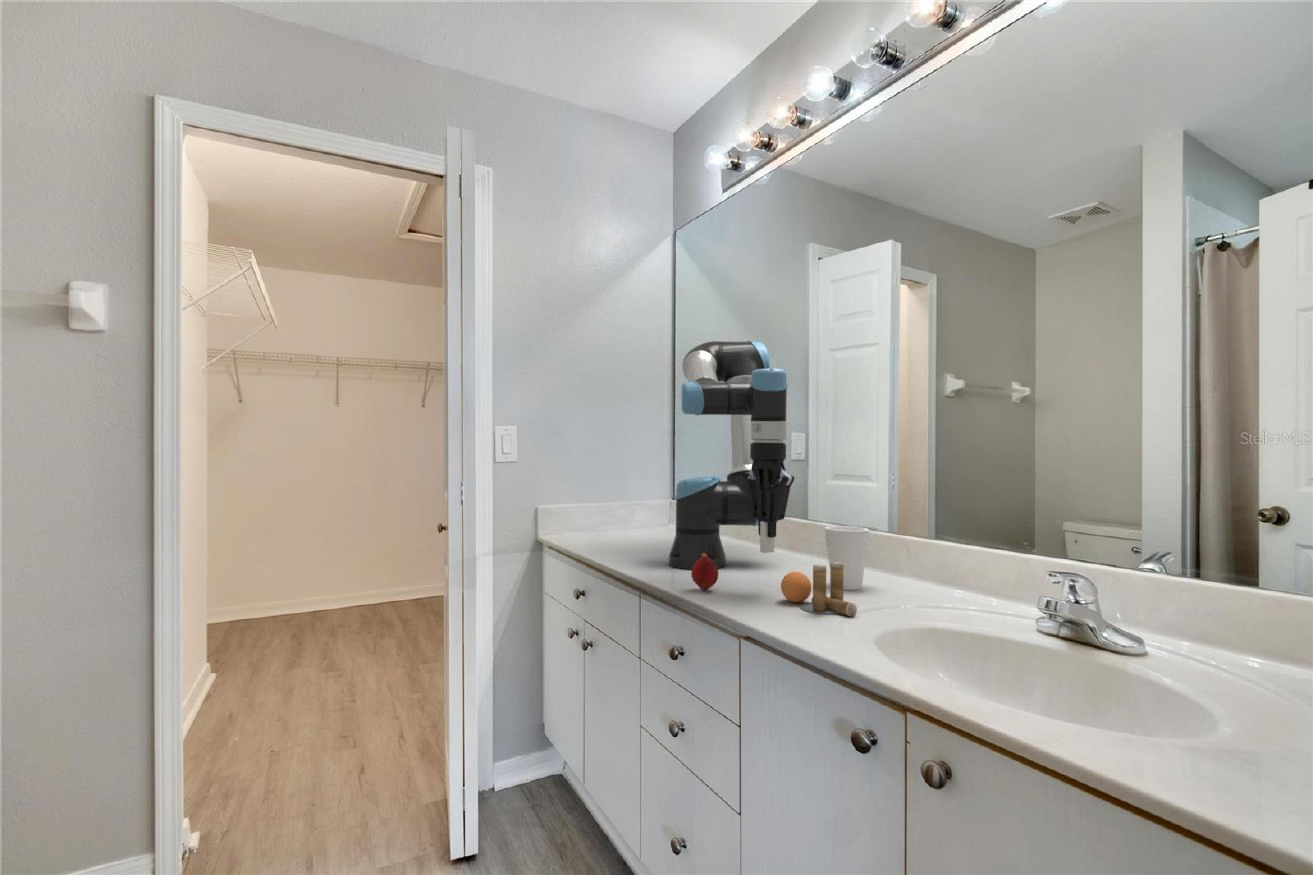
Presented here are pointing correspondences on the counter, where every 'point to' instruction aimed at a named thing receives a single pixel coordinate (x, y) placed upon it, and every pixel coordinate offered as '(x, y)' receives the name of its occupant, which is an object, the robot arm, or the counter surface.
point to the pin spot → (809, 608)
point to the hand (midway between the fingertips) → (767, 551)
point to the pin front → (840, 606)
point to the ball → (796, 587)
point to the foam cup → (848, 552)
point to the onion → (704, 573)
